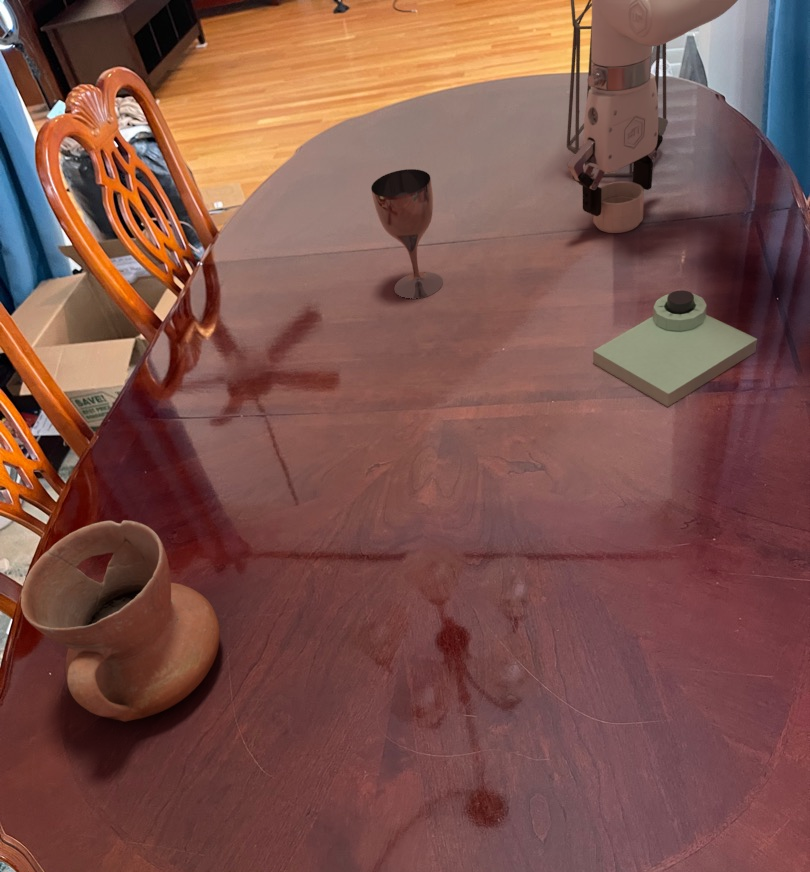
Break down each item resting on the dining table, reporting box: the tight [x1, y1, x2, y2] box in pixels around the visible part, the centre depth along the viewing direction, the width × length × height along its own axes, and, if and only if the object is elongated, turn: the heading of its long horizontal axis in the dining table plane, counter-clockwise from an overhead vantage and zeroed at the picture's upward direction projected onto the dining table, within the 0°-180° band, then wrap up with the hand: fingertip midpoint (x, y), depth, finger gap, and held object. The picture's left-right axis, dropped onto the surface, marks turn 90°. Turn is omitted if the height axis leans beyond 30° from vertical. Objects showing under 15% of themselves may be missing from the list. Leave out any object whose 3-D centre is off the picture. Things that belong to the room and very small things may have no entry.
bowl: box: [593, 180, 645, 234], centre depth 119 cm, size 7×7×4 cm
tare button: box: [667, 289, 694, 314], centre depth 97 cm, size 3×3×2 cm
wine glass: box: [370, 168, 444, 300], centre depth 112 cm, size 8×8×15 cm
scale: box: [592, 292, 758, 408], centre depth 96 cm, size 14×12×4 cm
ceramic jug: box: [20, 519, 221, 722], centre depth 73 cm, size 18×14×14 cm
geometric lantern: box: [566, 0, 667, 177], centre depth 120 cm, size 16×16×35 cm
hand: (617, 199), depth 118 cm, fingers open, 9 cm apart
